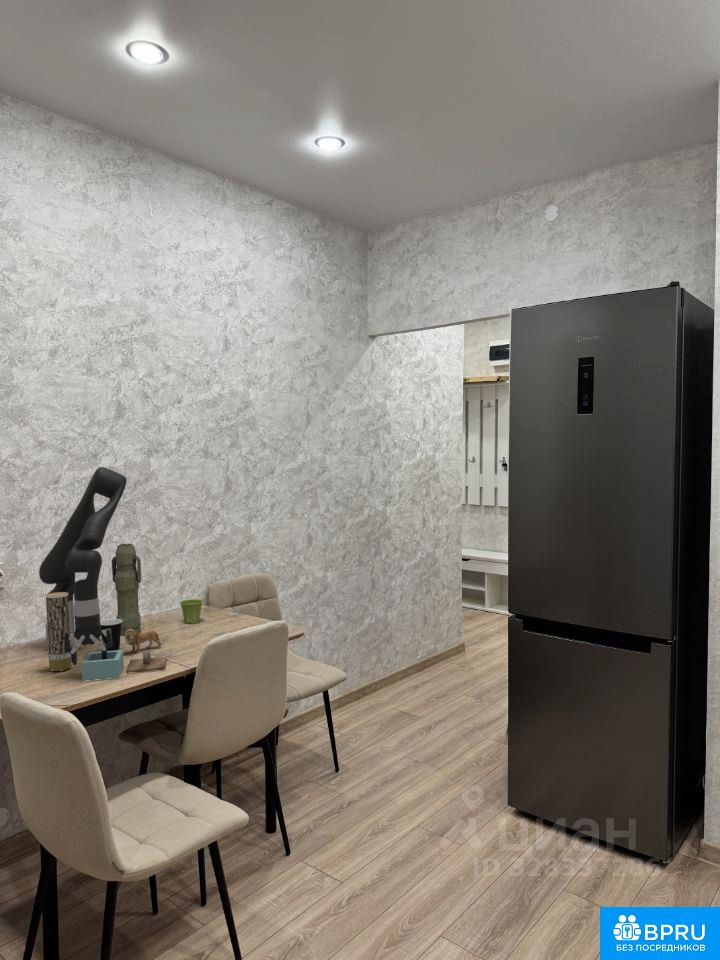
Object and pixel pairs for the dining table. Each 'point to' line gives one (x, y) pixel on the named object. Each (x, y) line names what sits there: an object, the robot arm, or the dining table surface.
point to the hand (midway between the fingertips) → (89, 662)
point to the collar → (102, 665)
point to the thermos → (127, 586)
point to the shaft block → (146, 663)
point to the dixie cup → (115, 630)
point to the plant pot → (191, 610)
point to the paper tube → (58, 630)
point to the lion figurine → (141, 638)
